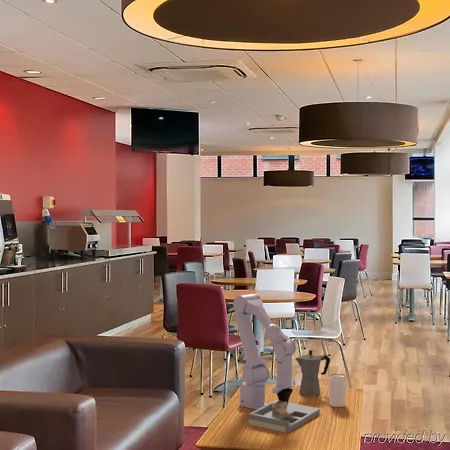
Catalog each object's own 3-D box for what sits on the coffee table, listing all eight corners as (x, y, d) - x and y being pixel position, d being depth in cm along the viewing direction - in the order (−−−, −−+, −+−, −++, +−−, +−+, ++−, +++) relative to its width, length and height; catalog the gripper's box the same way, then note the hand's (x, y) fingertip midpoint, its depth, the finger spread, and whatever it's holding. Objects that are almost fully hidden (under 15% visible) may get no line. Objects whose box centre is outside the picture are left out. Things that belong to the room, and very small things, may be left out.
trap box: (248, 424, 270) (249, 413, 269) (282, 406, 291) (283, 396, 291) (287, 433, 261) (288, 422, 261) (319, 413, 283) (320, 403, 283)
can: (345, 408, 290) (346, 378, 289) (328, 407, 291) (329, 377, 291) (346, 403, 296) (346, 373, 296) (329, 402, 298) (330, 372, 297)
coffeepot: (298, 396, 305) (299, 353, 304) (291, 390, 314) (292, 348, 313) (333, 394, 308) (334, 352, 307) (325, 388, 317) (326, 347, 316)
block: (272, 413, 277) (272, 402, 276) (277, 410, 280) (277, 399, 280) (281, 415, 274) (281, 404, 274) (286, 412, 278) (286, 401, 277)
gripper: (284, 378, 271) (283, 414, 272) (302, 369, 283) (301, 404, 284) (267, 375, 275) (267, 411, 276) (286, 367, 287) (285, 401, 288)
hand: (283, 407), depth 280 cm, fingers closed
